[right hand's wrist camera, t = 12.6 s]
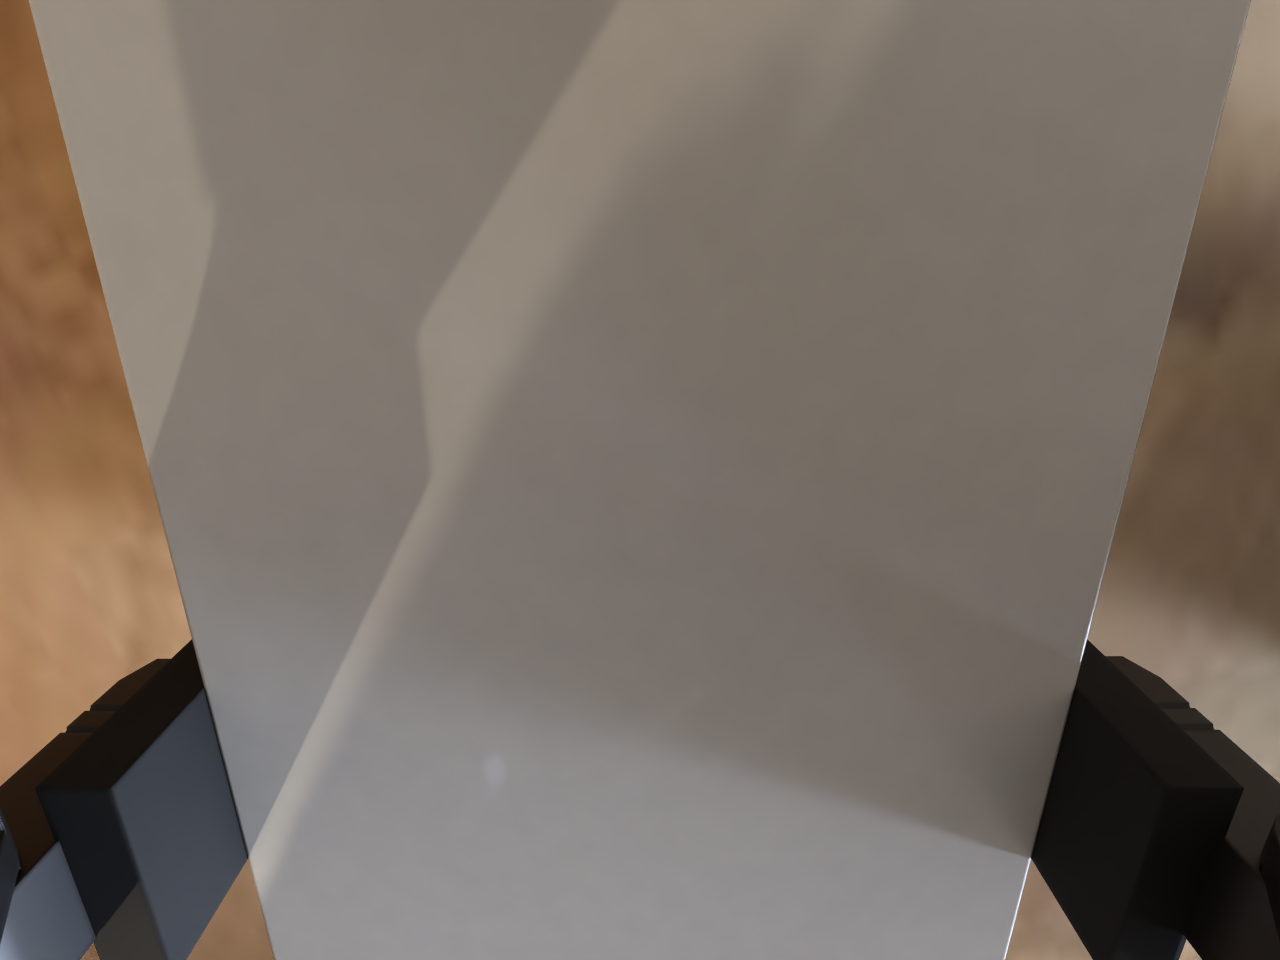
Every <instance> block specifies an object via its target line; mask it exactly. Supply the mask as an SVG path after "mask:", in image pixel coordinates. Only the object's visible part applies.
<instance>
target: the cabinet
mask: <svg viewBox="0 0 1280 960" xmlns="http://www.w3.org/2000/svg"><path fill="white" fill-rule="evenodd" d="M1250 2H1251V0H29V4H30V8H31V12H32V16H33V20H34V23H35V27H36V31H37V35H38V39H39V43H40V47H41V51H42V55H43V59H44V63H45V66H46V70H47V74H48V78H49V82H50V86H51V90H52V94H53V98H54V102H55V105H56V109H57V113H58V117H59V121H60V125H61V129H62V133H63V137H64V141H65V145H66V148H67V152H68V156H69V160H70V164H71V168H72V172H73V176H74V180H75V184H76V187H77V191H78V195H79V199H80V203H81V207H82V211H83V215H84V219H85V223H86V227H87V230H88V234H89V238H90V242H91V246H92V250H93V254H94V258H95V262H96V266H97V270H98V273H99V277H100V281H101V285H102V289H103V293H104V297H105V301H106V305H107V309H108V312H109V316H110V320H111V324H112V328H113V332H114V336H115V340H116V344H117V348H118V352H119V355H120V359H121V363H122V367H123V371H124V375H125V379H126V383H127V387H128V391H129V394H130V398H131V402H132V406H133V410H134V414H135V418H136V422H137V426H138V430H139V434H140V437H141V441H142V445H143V449H144V453H145V457H146V461H147V465H148V469H149V473H150V476H151V480H152V484H153V488H154V492H155V496H156V500H157V504H158V508H159V512H160V516H161V519H162V523H163V527H164V531H165V535H166V539H167V543H168V547H169V551H170V555H171V558H172V562H173V566H174V570H175V574H176V578H177V582H178V586H179V590H180V594H181V598H182V601H183V605H184V609H185V613H186V617H187V621H188V625H189V629H190V633H191V637H192V640H193V644H194V648H195V652H196V656H197V660H198V664H199V668H200V672H201V676H202V680H203V683H204V687H205V691H206V695H207V699H208V703H209V707H210V711H211V715H212V719H213V722H214V726H215V730H216V734H217V738H218V742H219V746H220V750H221V754H222V758H223V762H224V765H225V769H226V773H227V777H228V781H229V785H230V789H231V793H232V797H233V801H234V804H235V808H236V812H237V816H238V820H239V824H240V828H241V832H242V836H243V840H244V844H245V847H246V851H247V855H248V859H249V863H250V867H251V871H252V875H253V879H254V883H255V886H256V890H257V894H258V898H259V902H260V906H261V910H262V914H263V918H264V922H265V926H266V929H267V933H268V937H269V941H270V945H271V949H272V953H273V957H274V960H1005V957H1006V953H1007V950H1008V946H1009V942H1010V938H1011V934H1012V930H1013V926H1014V922H1015V918H1016V914H1017V911H1018V907H1019V903H1020V899H1021V895H1022V891H1023V887H1024V883H1025V879H1026V875H1027V872H1028V868H1029V864H1030V860H1031V856H1032V852H1033V848H1034V844H1035V840H1036V836H1037V833H1038V829H1039V825H1040V821H1041V817H1042V813H1043V809H1044V805H1045V801H1046V797H1047V794H1048V790H1049V786H1050V782H1051V778H1052V774H1053V770H1054V766H1055V762H1056V759H1057V755H1058V751H1059V747H1060V743H1061V739H1062V735H1063V731H1064V727H1065V723H1066V720H1067V716H1068V712H1069V708H1070V704H1071V700H1072V696H1073V692H1074V688H1075V684H1076V681H1077V677H1078V673H1079V669H1080V665H1081V661H1082V657H1083V653H1084V649H1085V645H1086V642H1087V638H1088V634H1089V630H1090V626H1091V622H1092V618H1093V614H1094V610H1095V606H1096V603H1097V599H1098V595H1099V591H1100V587H1101V583H1102V579H1103V575H1104V571H1105V567H1106V564H1107V560H1108V556H1109V552H1110V548H1111V544H1112V540H1113V536H1114V532H1115V528H1116V525H1117V521H1118V517H1119V513H1120V509H1121V505H1122V501H1123V497H1124V493H1125V489H1126V486H1127V482H1128V478H1129V474H1130V470H1131V466H1132V462H1133V458H1134V454H1135V451H1136V447H1137V443H1138V439H1139V435H1140V431H1141V427H1142V423H1143V419H1144V415H1145V412H1146V408H1147V404H1148V400H1149V396H1150V392H1151V388H1152V384H1153V380H1154V376H1155V373H1156V369H1157V365H1158V361H1159V357H1160V353H1161V349H1162V345H1163V341H1164V337H1165V334H1166V330H1167V326H1168V322H1169V318H1170V314H1171V310H1172V306H1173V302H1174V298H1175V295H1176V291H1177V287H1178V283H1179V279H1180V275H1181V271H1182V267H1183V263H1184V259H1185V256H1186V252H1187V248H1188V244H1189V240H1190V236H1191V232H1192V228H1193V224H1194V220H1195V217H1196V213H1197V209H1198V205H1199V201H1200V197H1201V193H1202V189H1203V185H1204V181H1205V178H1206V174H1207V170H1208V166H1209V162H1210V158H1211V154H1212V150H1213V146H1214V143H1215V139H1216V135H1217V131H1218V127H1219V123H1220V119H1221V115H1222V111H1223V107H1224V104H1225V100H1226V96H1227V92H1228V88H1229V84H1230V80H1231V76H1232V72H1233V68H1234V65H1235V61H1236V57H1237V53H1238V49H1239V45H1240V41H1241V37H1242V33H1243V29H1244V26H1245V22H1246V18H1247V14H1248V10H1249V6H1250Z"/></svg>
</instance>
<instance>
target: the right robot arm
mask: <svg viewBox="0 0 1280 960" xmlns="http://www.w3.org/2000/svg"><path fill="white" fill-rule="evenodd" d="M247 859H248V855H247V851H246V847H245V844H244V840H243V836H242V832H241V828H240V824H239V820H238V816H237V812H236V808H235V804H234V801H233V797H232V793H231V789H230V785H229V781H228V777H227V773H226V769H225V765H224V762H223V758H222V754H221V750H220V746H219V742H218V738H217V734H216V730H215V726H214V722H213V719H212V715H211V711H210V707H209V703H208V699H207V695H206V691H205V687H204V683H203V680H202V676H201V672H200V668H199V664H198V660H197V656H196V652H195V648H194V644H193V640H191V641H190V642H189V643H188V644H187V645H185V646H184V647H183V648H182V649H181V650H180V651H179V652H178V653H177V654H176V655H175V656H174V657H173V658H172V659H156V660H154V661H153V662H151V663H149V664H147V665H146V666H144V667H142V668H140V669H138V670H137V671H135V672H133V673H131V674H130V675H128V676H126V677H124V678H123V679H121V680H119V681H118V682H117V683H116V684H115V685H113V686H112V687H111V688H110V689H109V690H108V691H107V692H106V693H104V694H103V695H102V696H101V697H100V698H99V699H98V700H97V701H96V702H94V703H93V704H92V705H91V709H90V711H84V712H83V713H82V714H81V715H80V716H79V717H78V718H76V719H75V720H74V721H73V722H72V723H71V724H70V725H69V726H68V727H67V730H66V732H65V733H60V734H59V735H57V736H56V737H55V738H54V739H53V740H52V741H51V742H50V743H48V744H47V745H46V746H45V747H44V748H43V749H42V750H41V751H40V752H38V753H37V754H36V755H35V756H34V757H33V758H32V759H31V760H29V761H28V762H27V763H26V764H25V765H24V766H23V767H22V768H20V769H19V770H18V771H17V772H16V773H15V774H14V775H13V776H12V777H10V778H9V779H8V780H7V781H6V782H5V783H4V784H3V785H1V786H0V960H80V959H81V958H82V956H83V955H84V954H85V952H86V951H87V950H88V948H89V947H90V946H91V944H92V943H93V942H94V944H95V947H96V950H97V952H98V955H99V958H100V960H186V959H187V957H188V956H189V954H190V953H191V951H192V949H193V948H194V946H195V944H196V943H197V941H198V939H199V938H200V936H201V934H202V933H203V931H204V930H205V928H206V926H207V925H208V923H209V921H210V920H211V918H212V916H213V915H214V913H215V911H216V910H217V908H218V907H219V905H220V903H221V902H222V900H223V898H224V897H225V895H226V893H227V892H228V890H229V888H230V887H231V885H232V884H233V882H234V880H235V879H236V877H237V875H238V874H239V872H240V870H241V869H242V867H243V866H244V864H245V862H246V861H247ZM1031 859H1032V860H1033V862H1034V863H1035V865H1036V867H1037V868H1038V870H1039V872H1040V873H1041V875H1042V877H1043V878H1044V880H1045V882H1046V883H1047V885H1048V886H1049V888H1050V890H1051V891H1052V893H1053V895H1054V896H1055V898H1056V900H1057V901H1058V903H1059V905H1060V906H1061V908H1062V909H1063V911H1064V913H1065V914H1066V916H1067V918H1068V919H1069V921H1070V923H1071V924H1072V926H1073V928H1074V929H1075V931H1076V932H1077V934H1078V936H1079V937H1080V939H1081V941H1082V942H1083V944H1084V946H1085V947H1086V949H1087V951H1088V952H1089V954H1090V955H1091V957H1092V959H1093V960H1179V957H1180V955H1181V952H1182V950H1183V947H1184V944H1185V942H1186V939H1187V940H1188V941H1189V943H1190V944H1191V945H1192V947H1193V948H1194V949H1195V951H1196V952H1197V953H1198V955H1199V956H1200V957H1201V959H1202V960H1280V783H1279V782H1278V781H1276V780H1275V779H1274V778H1273V777H1272V776H1271V775H1270V774H1269V773H1267V772H1266V771H1265V770H1264V769H1263V768H1262V767H1261V766H1260V765H1258V764H1257V763H1256V762H1255V761H1254V760H1253V759H1252V758H1250V757H1249V756H1248V755H1247V754H1246V753H1245V752H1244V751H1243V750H1241V749H1240V748H1239V747H1238V746H1237V745H1236V744H1235V743H1234V742H1232V741H1231V740H1230V739H1229V738H1228V737H1227V736H1226V735H1225V734H1223V733H1222V732H1221V731H1220V730H1214V728H1213V724H1212V723H1211V722H1210V721H1209V720H1208V719H1207V718H1205V717H1204V716H1203V715H1202V714H1201V713H1200V712H1199V711H1198V710H1196V709H1195V708H1190V706H1189V702H1187V701H1186V700H1185V699H1184V698H1183V697H1182V696H1181V695H1179V694H1178V693H1177V692H1176V691H1175V690H1174V689H1173V688H1172V687H1170V686H1169V685H1168V684H1167V683H1166V682H1165V681H1164V680H1163V679H1161V678H1160V677H1158V676H1157V675H1155V674H1153V673H1151V672H1149V671H1148V670H1146V669H1144V668H1142V667H1141V666H1139V665H1137V664H1135V663H1133V662H1132V661H1130V660H1128V659H1126V658H1125V657H1123V656H1104V655H1103V654H1102V653H1101V652H1100V651H1099V650H1098V649H1097V648H1096V647H1095V646H1094V645H1093V644H1092V643H1091V642H1089V641H1088V640H1087V642H1086V645H1085V649H1084V653H1083V657H1082V661H1081V665H1080V669H1079V673H1078V677H1077V681H1076V684H1075V688H1074V692H1073V696H1072V700H1071V704H1070V708H1069V712H1068V716H1067V720H1066V723H1065V727H1064V731H1063V735H1062V739H1061V743H1060V747H1059V751H1058V755H1057V759H1056V762H1055V766H1054V770H1053V774H1052V778H1051V782H1050V786H1049V790H1048V794H1047V797H1046V801H1045V805H1044V809H1043V813H1042V817H1041V821H1040V825H1039V829H1038V833H1037V836H1036V840H1035V844H1034V848H1033V852H1032V856H1031Z"/></svg>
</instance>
